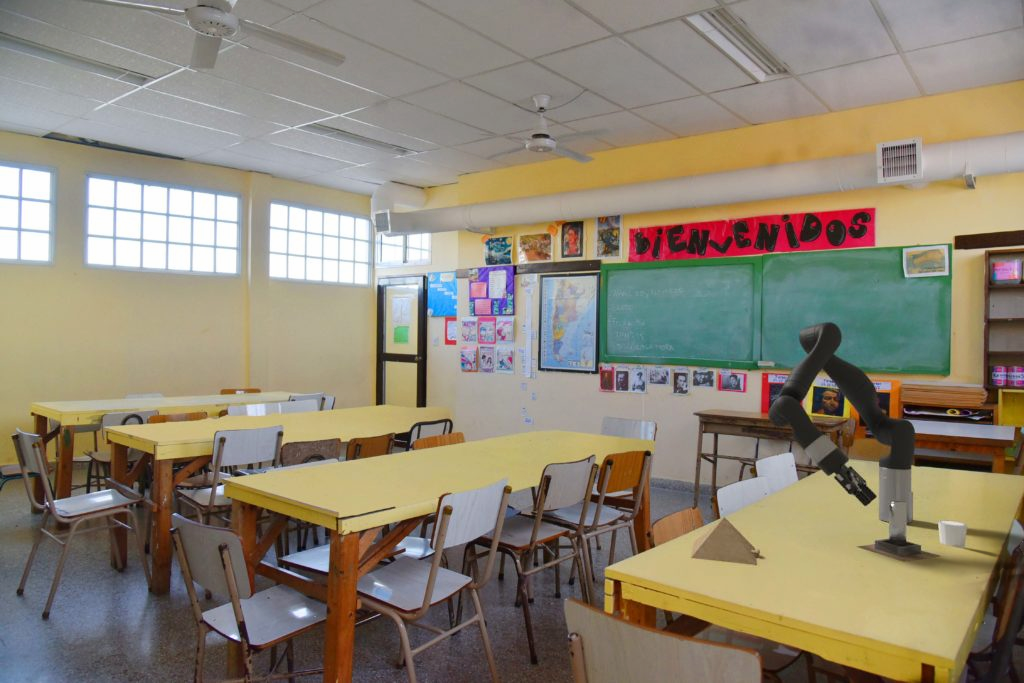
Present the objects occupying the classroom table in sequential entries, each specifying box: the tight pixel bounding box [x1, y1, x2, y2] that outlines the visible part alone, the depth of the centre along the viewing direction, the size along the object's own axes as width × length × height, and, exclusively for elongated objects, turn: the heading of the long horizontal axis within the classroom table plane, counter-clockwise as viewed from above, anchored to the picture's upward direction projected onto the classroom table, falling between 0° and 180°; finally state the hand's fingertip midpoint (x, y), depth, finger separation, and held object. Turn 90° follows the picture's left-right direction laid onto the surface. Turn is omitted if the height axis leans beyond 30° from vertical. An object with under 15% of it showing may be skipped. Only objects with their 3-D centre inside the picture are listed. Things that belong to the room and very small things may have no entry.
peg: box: [888, 500, 907, 547], centre depth 177 cm, size 4×4×13 cm
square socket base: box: [856, 538, 940, 563], centre depth 177 cm, size 14×14×3 cm
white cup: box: [937, 519, 968, 550], centre depth 185 cm, size 7×7×7 cm
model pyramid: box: [690, 516, 761, 566], centre depth 176 cm, size 17×17×10 cm
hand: (871, 501), depth 181 cm, fingers open, 8 cm apart
